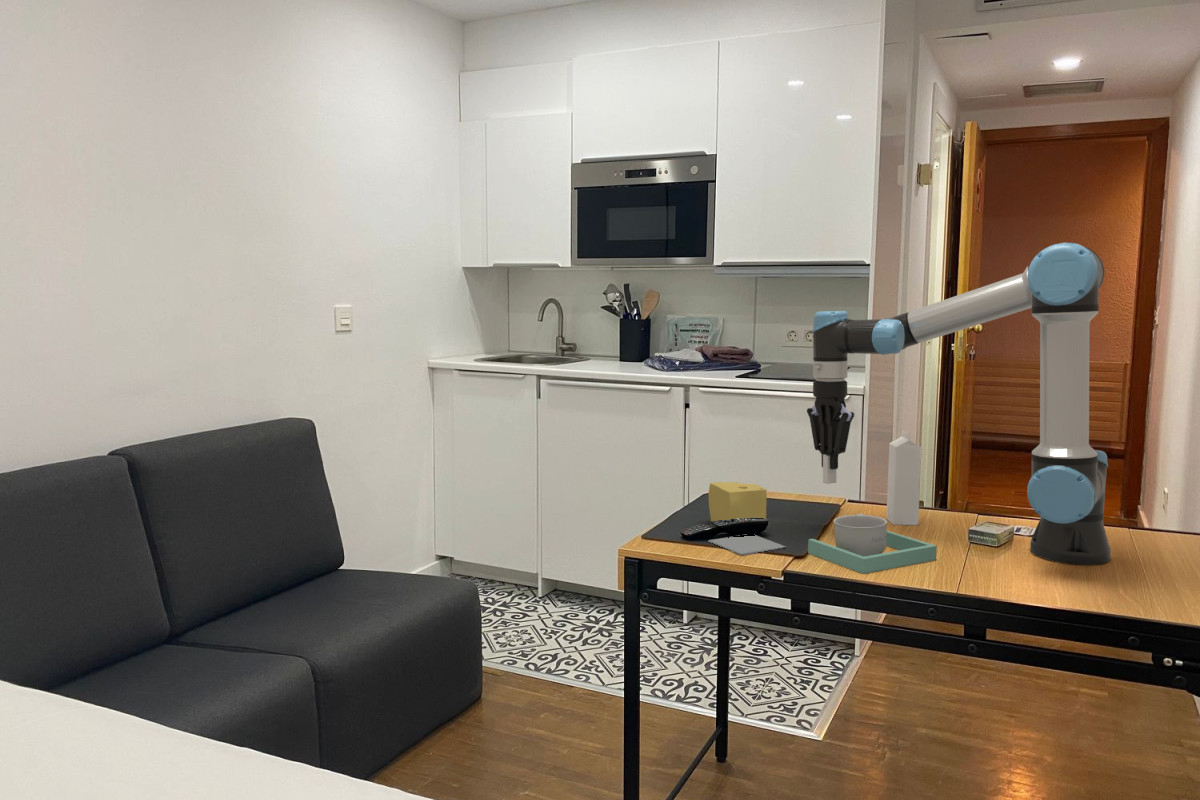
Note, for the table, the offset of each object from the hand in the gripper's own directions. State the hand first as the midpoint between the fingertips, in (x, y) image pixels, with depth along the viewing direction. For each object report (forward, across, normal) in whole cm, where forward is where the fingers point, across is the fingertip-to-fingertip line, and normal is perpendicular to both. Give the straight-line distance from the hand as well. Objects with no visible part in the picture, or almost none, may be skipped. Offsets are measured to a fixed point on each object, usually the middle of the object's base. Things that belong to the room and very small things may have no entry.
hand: (829, 482), depth 210 cm
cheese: (+12, -16, -14) cm, 24 cm away
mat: (+12, -2, -23) cm, 25 cm away
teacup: (+13, +16, -6) cm, 21 cm away
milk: (+13, 0, +23) cm, 27 cm away
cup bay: (+12, +17, -5) cm, 22 cm away
